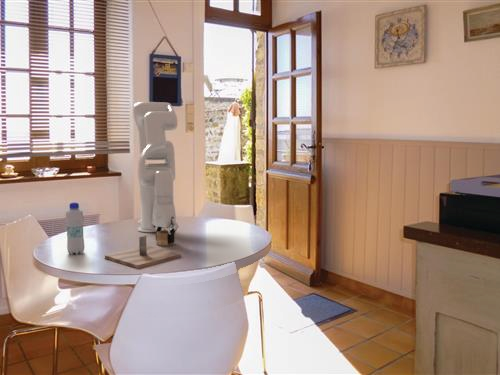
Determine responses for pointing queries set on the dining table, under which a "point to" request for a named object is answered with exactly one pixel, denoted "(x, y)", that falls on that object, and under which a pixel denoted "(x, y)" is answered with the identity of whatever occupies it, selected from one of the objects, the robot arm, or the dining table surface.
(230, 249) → the dining table surface
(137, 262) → the post board
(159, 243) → the collar
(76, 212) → the bottle
